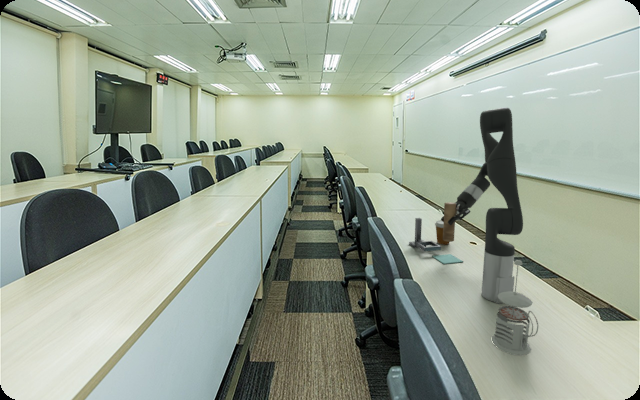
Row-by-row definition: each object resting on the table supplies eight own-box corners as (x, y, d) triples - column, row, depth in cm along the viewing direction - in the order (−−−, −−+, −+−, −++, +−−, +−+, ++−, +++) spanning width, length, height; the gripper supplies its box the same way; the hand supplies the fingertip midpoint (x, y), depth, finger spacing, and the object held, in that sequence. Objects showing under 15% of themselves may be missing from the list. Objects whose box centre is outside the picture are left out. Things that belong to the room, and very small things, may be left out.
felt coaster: (462, 262, 145) (463, 261, 145) (443, 264, 144) (443, 263, 144) (450, 254, 155) (450, 254, 155) (432, 256, 153) (432, 255, 153)
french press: (509, 330, 93) (517, 251, 88) (546, 355, 82) (557, 267, 77) (482, 336, 90) (489, 256, 86) (517, 363, 79) (526, 272, 75)
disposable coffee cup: (453, 245, 168) (455, 224, 166) (435, 245, 170) (436, 224, 168) (450, 240, 177) (451, 220, 175) (432, 239, 179) (433, 219, 177)
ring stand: (440, 254, 156) (442, 225, 153) (424, 256, 154) (425, 226, 151) (422, 243, 174) (423, 216, 171) (407, 244, 172) (408, 217, 169)
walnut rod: (456, 241, 146) (458, 204, 142) (446, 242, 145) (448, 204, 141) (450, 238, 150) (451, 202, 147) (440, 238, 150) (442, 202, 146)
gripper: (456, 188, 151) (432, 214, 152) (475, 193, 138) (449, 221, 138) (465, 198, 153) (441, 223, 154) (485, 204, 139) (459, 231, 140)
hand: (445, 222), depth 146 cm, fingers closed on walnut rod, 5 cm apart
